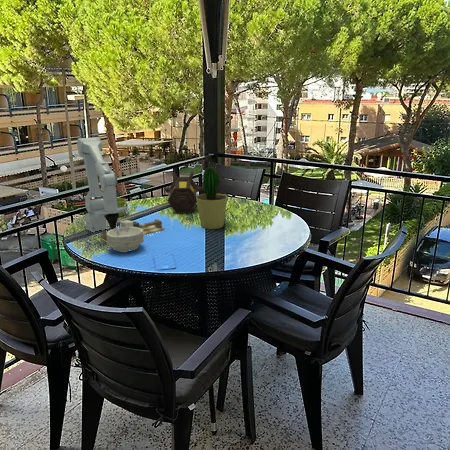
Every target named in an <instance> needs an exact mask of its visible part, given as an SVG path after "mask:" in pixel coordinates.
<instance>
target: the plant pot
mask: <svg viewBox="0 0 450 450" xmlns="http://www.w3.org/2000/svg"><path fill="white" fill-rule="evenodd" d="M126 201H127V199H126V198H121V197H117V207H118V208H119V207H126V206H125V204H126ZM118 214H119V218H121V217H124V216H125V212H120V213H118ZM123 215H124V216H123Z"/></svg>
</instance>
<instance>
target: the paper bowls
mask: <svg viewBox="0 0 450 450" xmlns="http://www.w3.org/2000/svg"><path fill="white" fill-rule="evenodd" d="M106 235H107V243H106V244H107V246H109V247H111V248H112V249H113V250H114V249H115V250H118V251H129V250H134V249H136V250H137V249H139V247H140V246H141V245H142V244H143V243H144V242H145V241H144V238H145V237H144V235H143V230H142V229H141V228H138V227H121V226H120V227H116V228H115V229H112V230H111V229H109V230H108V231H107V233H106ZM115 250H114V251H115ZM134 251H135V250H134Z"/></svg>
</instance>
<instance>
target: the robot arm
mask: <svg viewBox="0 0 450 450" xmlns="http://www.w3.org/2000/svg"><path fill="white" fill-rule="evenodd" d="M76 147H77V151H78V155H79V157H81V158H82V159H83V162H84V169H85V173H86V179H87V184H88V188H89V192H88V193H87V194H86V195H85V197H84V199H85V200H84V201H85V209H86V211H87V213H85V215H84V220H85V230H87V231H88V230H89V232H90V231H91V233H92V232H93V233H96V232H95V231H98V232H100V231H99V230H102V231H106V230H105V229H107V230H112V229H115V228H117V227H116V226H117V222H118V221H119V218H120V217H119V214H118V213H120V212H124V213H126V212H128V207H126V206H125V207H119V208H118V207H117V198H118V197H117V189H116V188H117V187H116V186H118V177H117V173H115V172H114V171H113V170H111V167H110V165H109V163H108V161H106V160H104V157H103V154H102V152H101V150H102V140H101V139H100V137H99V136H96V137H95V136H94V137H82V138H81V137H78V139H77V140H76ZM108 225H109V226H108ZM109 228H110V229H109Z"/></svg>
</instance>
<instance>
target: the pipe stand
mask: <svg viewBox="0 0 450 450" xmlns="http://www.w3.org/2000/svg"><path fill="white" fill-rule="evenodd" d="M133 227H134V226H133ZM139 228H141V229H142V230H143V236H145V235H149V234H152V233H157V232H160V231H165V230H166V227H165V228H164V227H163V223H162V220H159V219H154V221H150V222H144V223H141V224H139ZM107 232H108V231H107ZM107 232H106V231H101V236H102V237H101V238H102V239H104V240H106V241H107V235H106V233H107Z"/></svg>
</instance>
